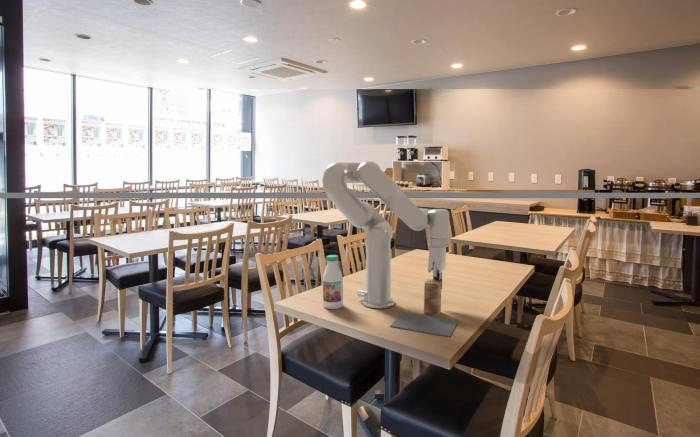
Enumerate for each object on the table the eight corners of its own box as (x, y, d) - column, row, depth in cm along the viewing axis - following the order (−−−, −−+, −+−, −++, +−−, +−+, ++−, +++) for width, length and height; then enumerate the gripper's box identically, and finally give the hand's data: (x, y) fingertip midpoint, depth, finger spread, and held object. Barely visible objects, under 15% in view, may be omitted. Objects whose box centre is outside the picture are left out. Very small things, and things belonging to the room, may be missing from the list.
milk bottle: (327, 302, 159) (326, 253, 157) (345, 303, 157) (345, 254, 154) (320, 308, 152) (319, 257, 149) (339, 310, 150) (338, 258, 147)
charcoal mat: (390, 326, 134) (390, 325, 134) (402, 312, 147) (402, 311, 147) (450, 337, 126) (450, 336, 125) (458, 321, 138) (458, 320, 138)
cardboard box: (424, 314, 145) (424, 282, 143) (427, 309, 150) (428, 278, 148) (437, 316, 143) (438, 284, 141) (440, 311, 147) (441, 280, 146)
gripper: (433, 238, 157) (432, 282, 160) (423, 244, 144) (422, 293, 146) (452, 239, 154) (450, 285, 157) (444, 246, 141) (443, 296, 143)
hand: (437, 289), depth 152 cm, fingers closed
